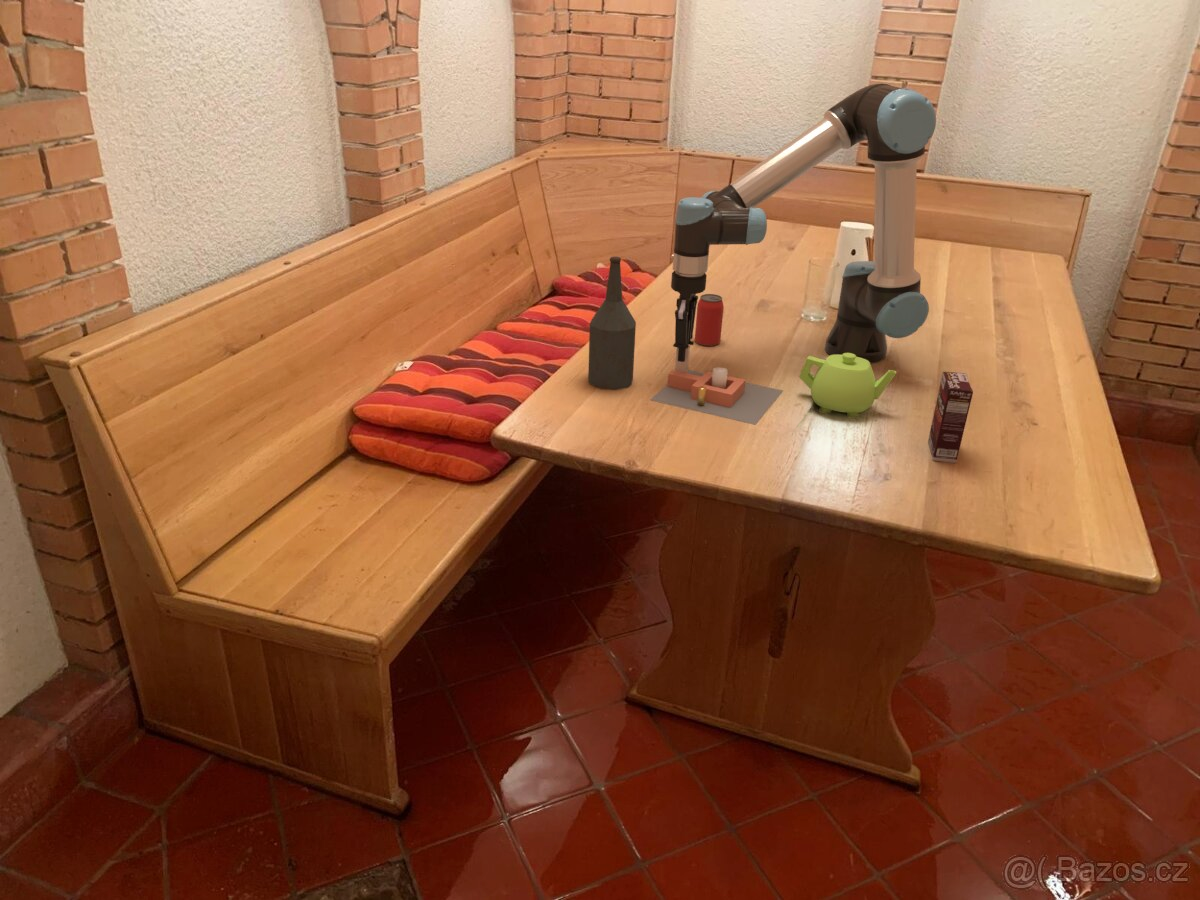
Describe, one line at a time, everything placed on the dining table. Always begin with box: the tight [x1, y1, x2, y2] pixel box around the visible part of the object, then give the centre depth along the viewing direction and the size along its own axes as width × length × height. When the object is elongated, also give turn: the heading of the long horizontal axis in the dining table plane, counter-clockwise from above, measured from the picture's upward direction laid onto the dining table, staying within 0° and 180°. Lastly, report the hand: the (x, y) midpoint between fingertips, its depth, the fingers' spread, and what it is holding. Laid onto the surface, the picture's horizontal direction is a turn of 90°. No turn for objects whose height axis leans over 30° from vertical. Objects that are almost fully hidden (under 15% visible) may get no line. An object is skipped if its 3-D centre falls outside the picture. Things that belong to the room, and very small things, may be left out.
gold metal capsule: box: [697, 386, 706, 406], centre depth 195 cm, size 2×2×4 cm
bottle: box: [587, 256, 637, 391], centre depth 200 cm, size 10×10×30 cm
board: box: [649, 366, 784, 426], centre depth 200 cm, size 24×20×8 cm
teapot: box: [798, 353, 897, 419], centre depth 198 cm, size 20×13×13 cm
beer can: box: [694, 293, 725, 347], centre depth 231 cm, size 7×7×12 cm
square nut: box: [666, 369, 747, 407], centre depth 202 cm, size 16×9×3 cm, turn 63°
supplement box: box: [927, 371, 974, 464], centre depth 179 cm, size 9×5×16 cm, turn 169°
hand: (681, 372), depth 207 cm, fingers closed
